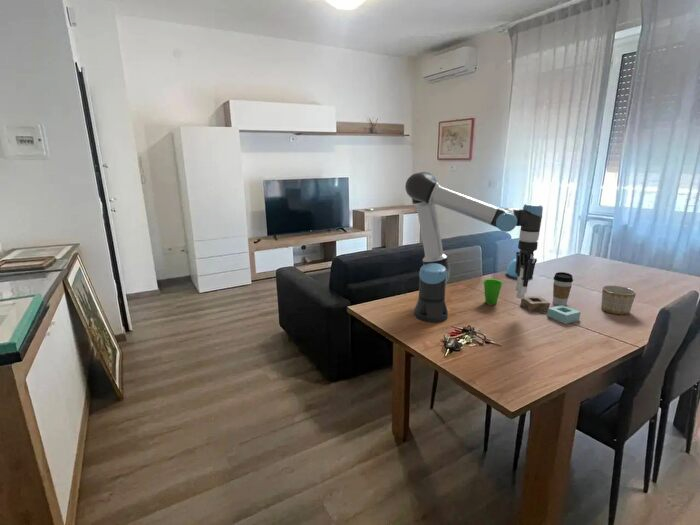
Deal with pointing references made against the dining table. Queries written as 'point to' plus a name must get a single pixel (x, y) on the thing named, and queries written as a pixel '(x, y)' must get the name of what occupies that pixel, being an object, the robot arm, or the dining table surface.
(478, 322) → the dining table surface
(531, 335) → the dining table surface
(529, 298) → the brown square wooden ring
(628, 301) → the planter
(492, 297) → the cup
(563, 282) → the coffee cup
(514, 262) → the sugar bowl
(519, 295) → the pale grey rod
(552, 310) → the teal square ring
